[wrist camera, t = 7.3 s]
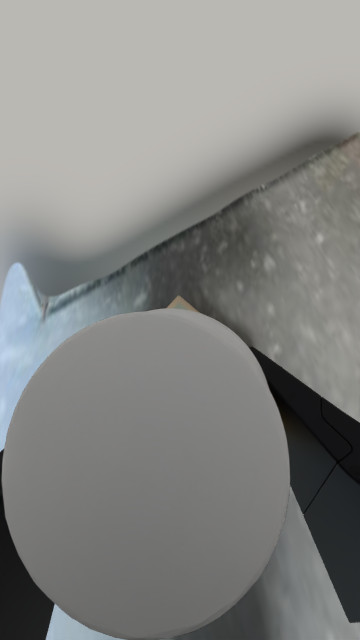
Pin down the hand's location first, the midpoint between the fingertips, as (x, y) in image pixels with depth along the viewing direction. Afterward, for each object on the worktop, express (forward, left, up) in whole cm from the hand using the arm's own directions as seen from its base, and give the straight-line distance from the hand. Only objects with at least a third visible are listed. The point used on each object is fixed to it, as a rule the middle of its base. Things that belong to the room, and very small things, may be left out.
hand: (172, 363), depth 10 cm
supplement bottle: (-1, -1, -7) cm, 7 cm away
